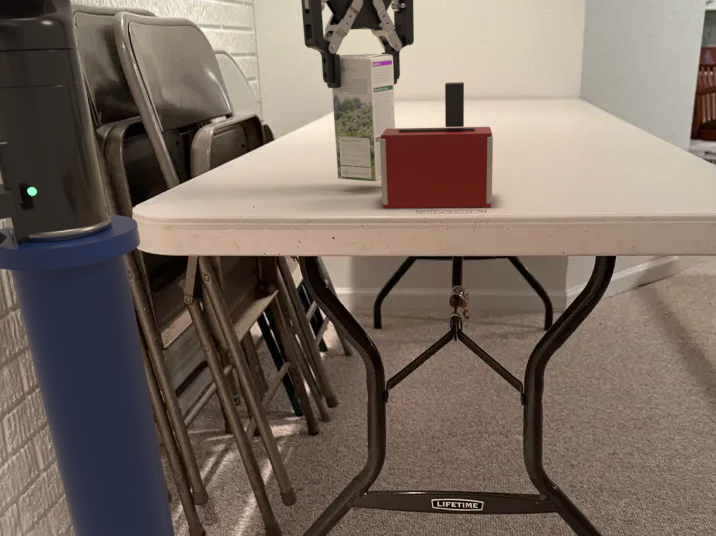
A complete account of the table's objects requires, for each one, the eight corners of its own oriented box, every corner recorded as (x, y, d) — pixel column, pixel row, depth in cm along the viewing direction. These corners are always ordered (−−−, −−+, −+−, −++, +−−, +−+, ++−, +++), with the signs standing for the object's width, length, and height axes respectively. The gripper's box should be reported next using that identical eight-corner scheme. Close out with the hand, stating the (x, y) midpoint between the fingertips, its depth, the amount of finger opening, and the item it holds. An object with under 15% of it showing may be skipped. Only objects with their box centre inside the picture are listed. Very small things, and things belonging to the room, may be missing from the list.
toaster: (382, 208, 81) (379, 133, 78) (387, 197, 86) (385, 126, 83) (491, 207, 80) (493, 131, 77) (489, 195, 85) (490, 124, 82)
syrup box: (398, 174, 92) (395, 53, 86) (375, 182, 87) (370, 54, 81) (360, 172, 94) (354, 54, 89) (335, 179, 89) (328, 55, 84)
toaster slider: (445, 127, 79) (445, 84, 77) (445, 124, 81) (445, 82, 79) (463, 126, 78) (463, 83, 77) (463, 124, 81) (463, 82, 79)
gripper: (315, -77, 74) (325, 91, 80) (427, -70, 81) (429, 84, 87) (283, -68, 79) (295, 88, 86) (390, -61, 87) (394, 82, 93)
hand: (362, 85), depth 86 cm, fingers closed on syrup box, 7 cm apart
